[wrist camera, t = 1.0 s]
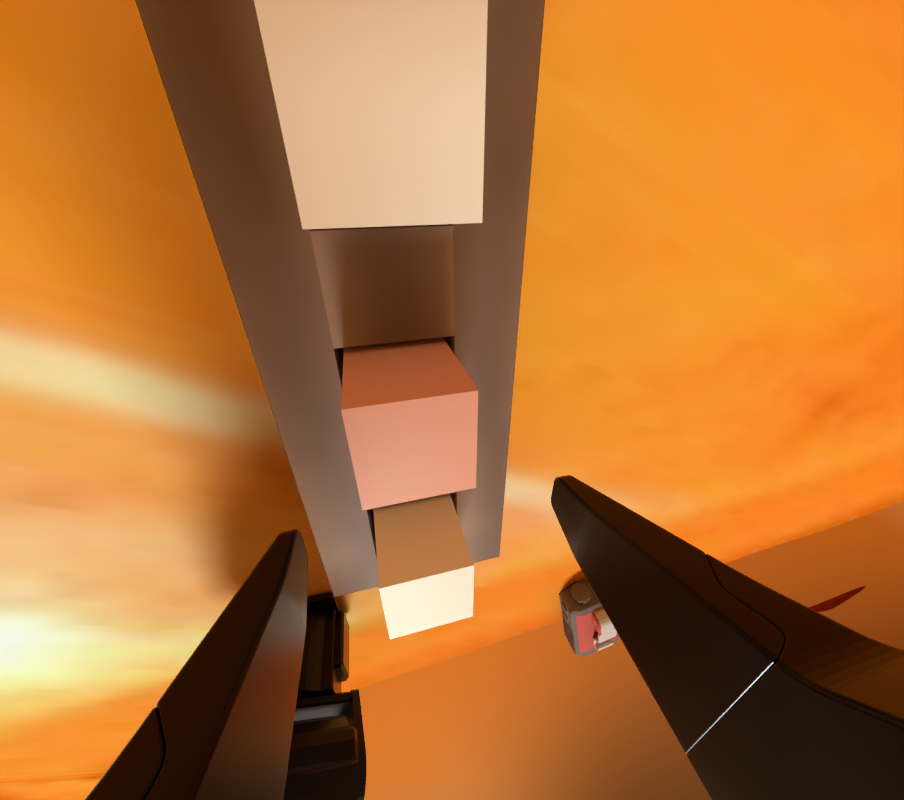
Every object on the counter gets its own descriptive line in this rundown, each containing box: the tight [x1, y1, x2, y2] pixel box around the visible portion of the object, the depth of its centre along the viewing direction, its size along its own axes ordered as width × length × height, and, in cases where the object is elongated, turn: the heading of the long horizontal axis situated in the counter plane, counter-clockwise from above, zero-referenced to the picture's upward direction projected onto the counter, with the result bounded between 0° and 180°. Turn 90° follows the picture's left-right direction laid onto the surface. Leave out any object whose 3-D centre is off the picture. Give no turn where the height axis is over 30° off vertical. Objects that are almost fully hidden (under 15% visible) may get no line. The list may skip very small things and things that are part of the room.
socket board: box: [135, 0, 545, 597], centre depth 17 cm, size 10×25×6 cm, turn 1°
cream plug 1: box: [254, 0, 488, 229], centre depth 9 cm, size 4×4×6 cm
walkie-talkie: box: [559, 580, 619, 656], centre depth 38 cm, size 9×4×20 cm
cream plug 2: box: [373, 493, 474, 639], centre depth 18 cm, size 4×4×6 cm
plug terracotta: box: [341, 337, 478, 511], centre depth 13 cm, size 4×4×6 cm
